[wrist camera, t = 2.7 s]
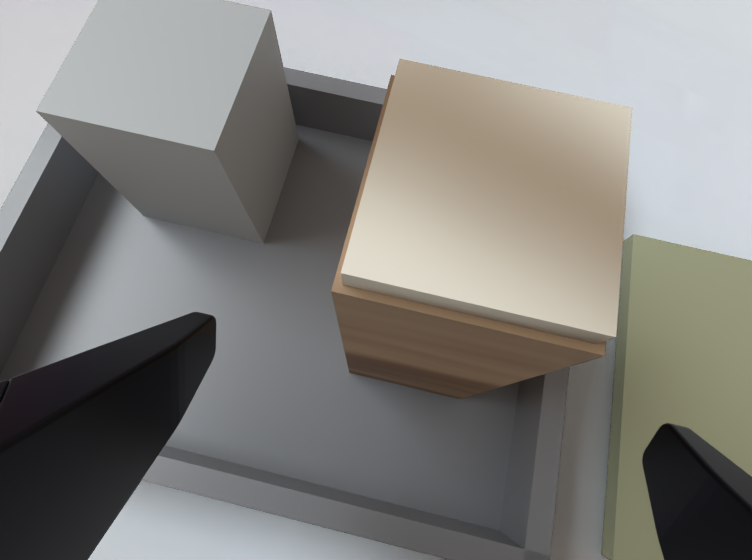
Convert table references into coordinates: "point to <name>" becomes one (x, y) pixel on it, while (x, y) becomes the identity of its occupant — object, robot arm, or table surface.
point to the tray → (280, 352)
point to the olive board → (675, 373)
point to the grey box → (181, 110)
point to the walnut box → (483, 234)
